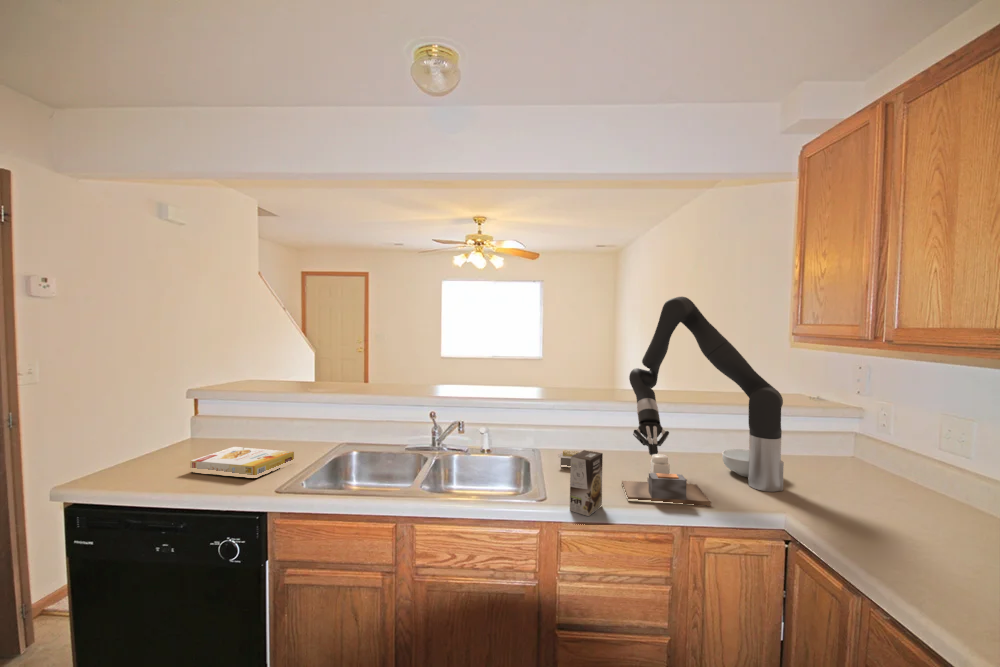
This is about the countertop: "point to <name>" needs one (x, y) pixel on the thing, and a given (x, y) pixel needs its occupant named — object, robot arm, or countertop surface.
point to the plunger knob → (659, 464)
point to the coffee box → (586, 482)
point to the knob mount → (666, 490)
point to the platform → (567, 457)
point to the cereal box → (243, 460)
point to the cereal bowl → (737, 461)
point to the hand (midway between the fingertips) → (654, 455)
